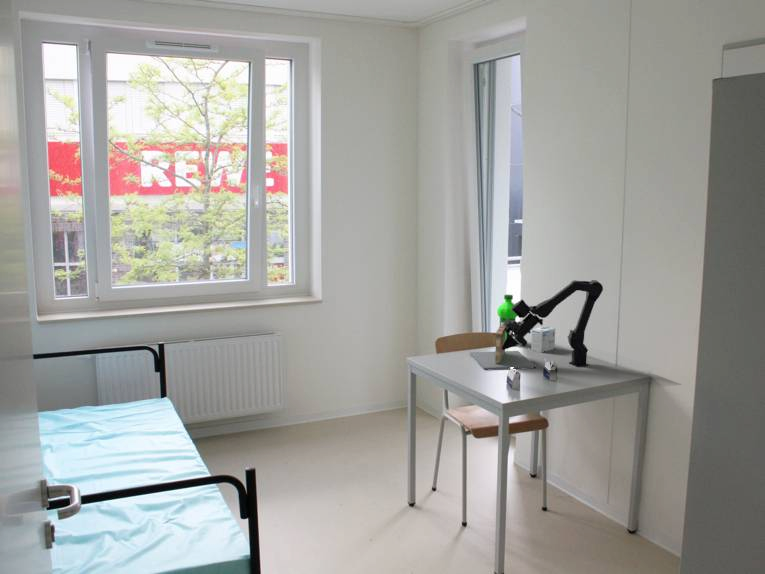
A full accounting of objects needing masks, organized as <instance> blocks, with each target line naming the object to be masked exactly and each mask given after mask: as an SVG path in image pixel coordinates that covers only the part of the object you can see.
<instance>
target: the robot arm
mask: <svg viewBox="0 0 765 574" xmlns="http://www.w3.org/2000/svg"><path fill="white" fill-rule="evenodd" d="M603 290H604V287H603V284H602V283H600V282H599V281H598V280H596V279H594V280H590V281H587V280H572V281H571V282H570V283H569V284H567V286H565V287H564V288H563V289H561V290H560V291H558V292H557V293H556V294H555V295H553V296H552V297H550V298H548V299H546V300H544V301H542V302H540V303H538V304H536V305H531V306H529V305H528V304H527V303H526V302H525V300H524V299H520V300H519V301H518V302H516V303H514V306H513V307H512V308H511V310H512V311H513V312H514V313H515V314H516V315H517V317H518V318H520V319H521V318H522V321H516V320H515V321H514V320H513V321H511V320H509V319H506V321H505V323H504V325H505V326H506V327H505V330H506V331H507V332H508V333H507V339H506V341H505V343H504V344H503V346H502V349H503V350H505V351H506V350H508V349H510V348H513V347H516V346H520V345H521V346H522V347H523V348H525V347H527V345H528V341H527V339H525V336H527V334H532V329H534V328H535V327H536V326H537V325H538V324H539V325H540V326H543V325H544V323H543V321H544V319H545V318H547V317H549V315H550V314H551V313H552V312H553V311H554V309H556V307H557V306H558V305H559V304H561V303H562V302H563V301H565V300H566V299H568V298H569V297H570V296H572V294H574V293H576V292H577V291H581V292H585V300H584V304H583V306H582V309H581V311H580V315H579V318H578V321H577V323H576V326H575V327H574V329H573V330H572V329H569V333H568V336H567V339H568V344H569V346H570V348H571V349H572V353H571V361H569V362H568V363H569V365H572V366H575V367H578V368H579V367H587V366H590V363H587V358H588V357H587V355H588V351H589V349H588V348H587V346H586V345H585V343H584V342H585V332H586V328H587V326H588V323H589V320H590V318H591V317H590V316H591V314H592V311H593V309H594V307H595V306H594V305H595V303H596V301H597V300H598V299H599V298H600V296H601V294H602V292H603Z"/></svg>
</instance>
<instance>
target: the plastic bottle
mask: <svg viewBox="0 0 765 574" xmlns="http://www.w3.org/2000/svg"><path fill="white" fill-rule="evenodd" d="M503 298H504V302H503V303H502V304H500V305H499V306H498V308H497V315H498V317H499V327H500V326H501V323H502V322H504V323H505V321H506V319H509V320H511V321H513V320H514V321H516V319H517V317H518V316H517V315H516V314H515V313H514V312H513V311H512V310H511V308H512V307H513V306H514V305H515V303H514V302H513V301H512V300H513V298H514V295H513V294H504V297H503ZM507 333H508V332H507V331H506V336H505V341H506V339H507Z"/></svg>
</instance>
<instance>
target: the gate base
mask: <svg viewBox="0 0 765 574" xmlns="http://www.w3.org/2000/svg"><path fill="white" fill-rule="evenodd" d="M501 326H505V325H504V322H502V323H501ZM505 336H506V330H505ZM504 343H505V340H504ZM495 352H496V351H473V352H471V351H470V352H469V355H470V356H471V358H472V357H473V358H474V359H475V360H476V361H477V362H478V363H477V362H476V361H475V360H474V359H473V358H472V359H473V360H474V361H475V362H476V363H477V364H478V365H479V366H480V367H481V368H482V369H483V370H484V369H498V370H509V369H508V368H510V367H514V368H528V369H533V368H532V367H536V368H537V365H536V364H535V363H534V362H532V361H530V359H529V358H527V357H526V356H525V355H524V354H522V353H521V352H520V351H519V350H506V349H505V350H504V355H503V357H502V359H501V361H500V363H495Z"/></svg>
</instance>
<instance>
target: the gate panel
mask: <svg viewBox="0 0 765 574" xmlns="http://www.w3.org/2000/svg"><path fill="white" fill-rule="evenodd" d="M505 327H506V326H500V325H499V327H498V329H497V330H496V332H495V335H494V336H495V351H494V352H495V363H500V361H501V359H502V357H503V355H504V350H503V349H502V346H503V344H504V340H505Z"/></svg>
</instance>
